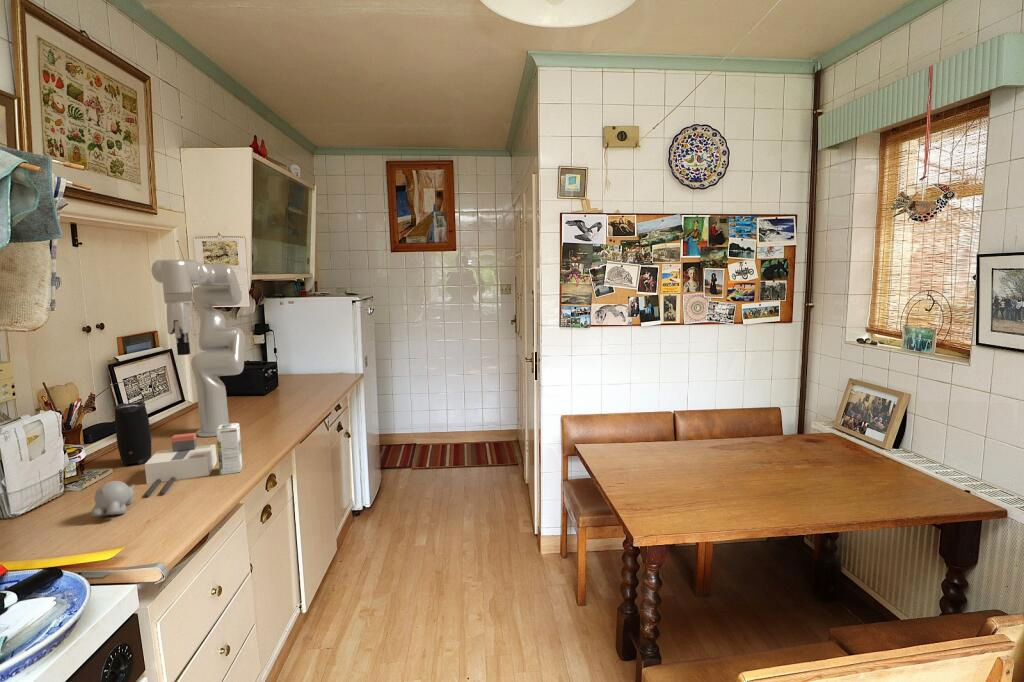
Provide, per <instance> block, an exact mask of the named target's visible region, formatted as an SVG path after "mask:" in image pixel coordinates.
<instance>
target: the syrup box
mask: <svg viewBox="0 0 1024 682" xmlns="http://www.w3.org/2000/svg"><path fill="white" fill-rule="evenodd" d="M240 430H241V428H240V423H238V422H237V423H236V422H233V423H232V422H231V423H230V422H229V424H223V425H219V427H218V429H217V436H216V441H217V442H216V443H217V455H218V467H219V475H220V476H223V475H231V474H235V473H241V471H242V468H243V457H242V445H241V444H242V443H241V440H242V439H241V431H240Z"/></svg>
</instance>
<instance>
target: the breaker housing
mask: <svg viewBox="0 0 1024 682" xmlns="http://www.w3.org/2000/svg"><path fill="white" fill-rule="evenodd" d="M217 463H218V459H217V446H216V444H215V443H214V444H206V445H197V447H196V448H195V449H190V450H181V451H173V449H172V448H171V449H163V450H156V451H155V453H154V454H152V455H151V458H150V459H149V460H148V461H147V462H146V463H144V469H145V470H144V471H145V472H144V473H145V479H146V484H148V485H149V484H154V483H155V482H156V480H157V479H161V482H160V483H163V482H168V481H169V480H170V479H171V478H172V477H175V481H178V480H185V479H194V478H200V477H201V478H202V477H209V476H210V474H212V471H213V470H214V468H215V466H216V464H217Z"/></svg>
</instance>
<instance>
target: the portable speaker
mask: <svg viewBox="0 0 1024 682" xmlns="http://www.w3.org/2000/svg"><path fill="white" fill-rule="evenodd" d="M114 415H115V416H114V426H115V427H114V428H115V436H116V442H117V449H118V453H119V457H120V461H121V465H122V466H125V467H128V466H129V465H131V464H136V463H137V464H138V465H142V464H145V463H146V462H147V461H148V460H149V459H150V458H151V457H152V435H151V434H152V433H151V428H150V427H151V426H150V419H149V415H148V412H147V408H146V402H144V401H137V402H132V403H125V402H124V403H119V404H117V405H115V406H114Z"/></svg>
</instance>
